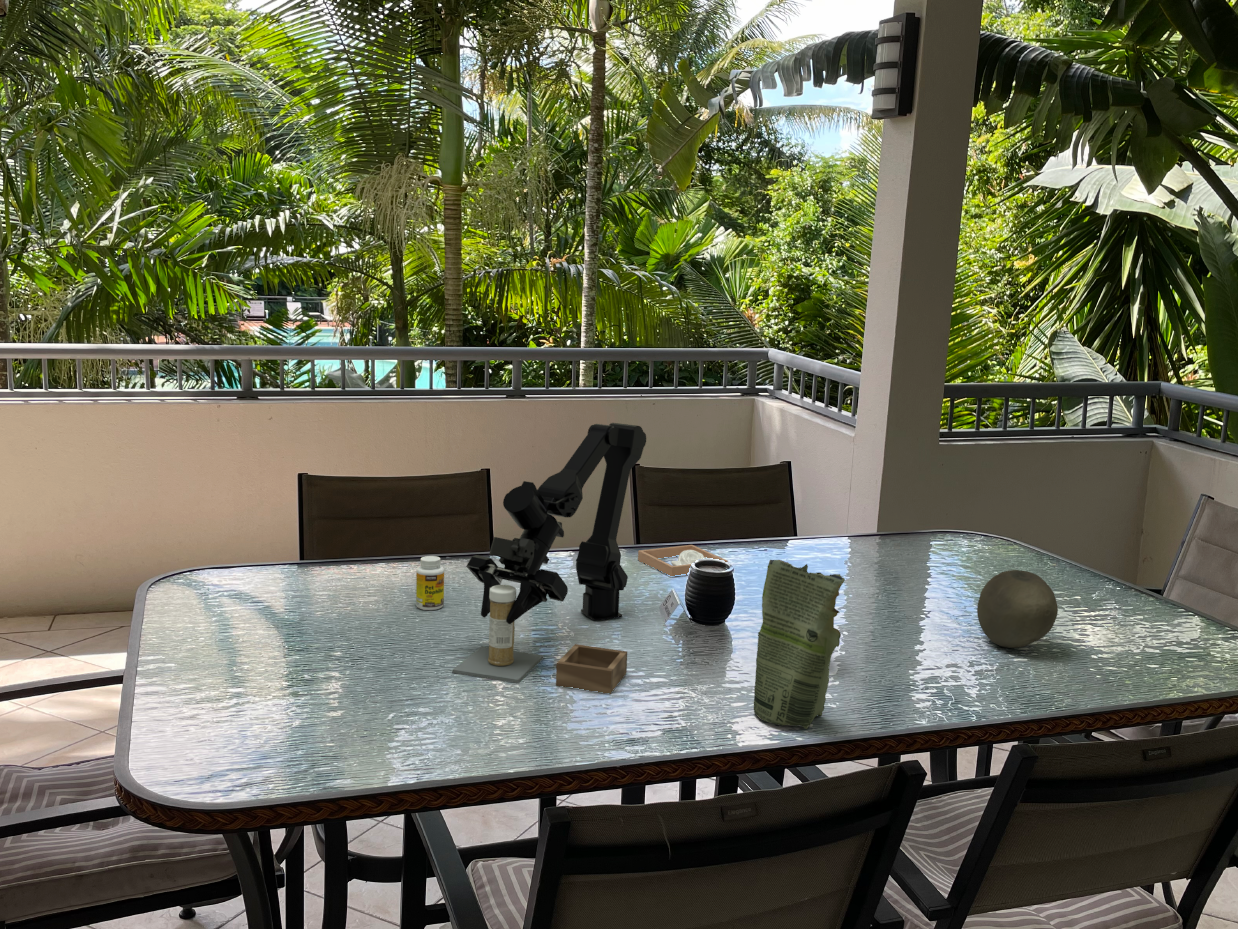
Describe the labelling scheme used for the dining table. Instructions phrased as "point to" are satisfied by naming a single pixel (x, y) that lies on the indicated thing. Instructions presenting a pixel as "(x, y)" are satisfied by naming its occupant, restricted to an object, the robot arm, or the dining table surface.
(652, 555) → the wooden square frame
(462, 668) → the grey mat
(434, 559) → the supplement bottle
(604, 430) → the robot arm
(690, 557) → the rose
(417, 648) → the dining table surface
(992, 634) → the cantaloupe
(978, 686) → the dining table surface
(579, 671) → the walnut sleeve
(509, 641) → the sprinkles bottle
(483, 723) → the dining table surface
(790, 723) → the pouch
